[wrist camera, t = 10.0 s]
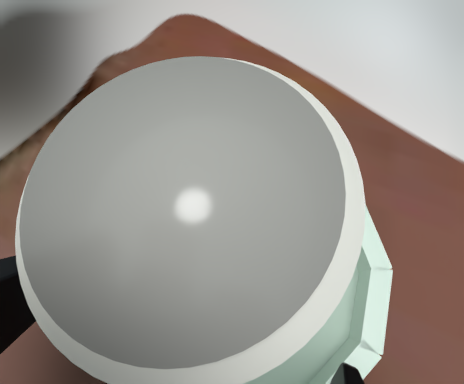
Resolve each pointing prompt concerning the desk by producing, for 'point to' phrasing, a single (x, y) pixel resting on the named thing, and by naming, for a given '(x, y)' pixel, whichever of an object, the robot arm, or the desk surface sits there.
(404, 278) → the desk surface
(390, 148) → the desk surface
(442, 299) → the desk surface
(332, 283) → the white cylinder
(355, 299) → the bowl
